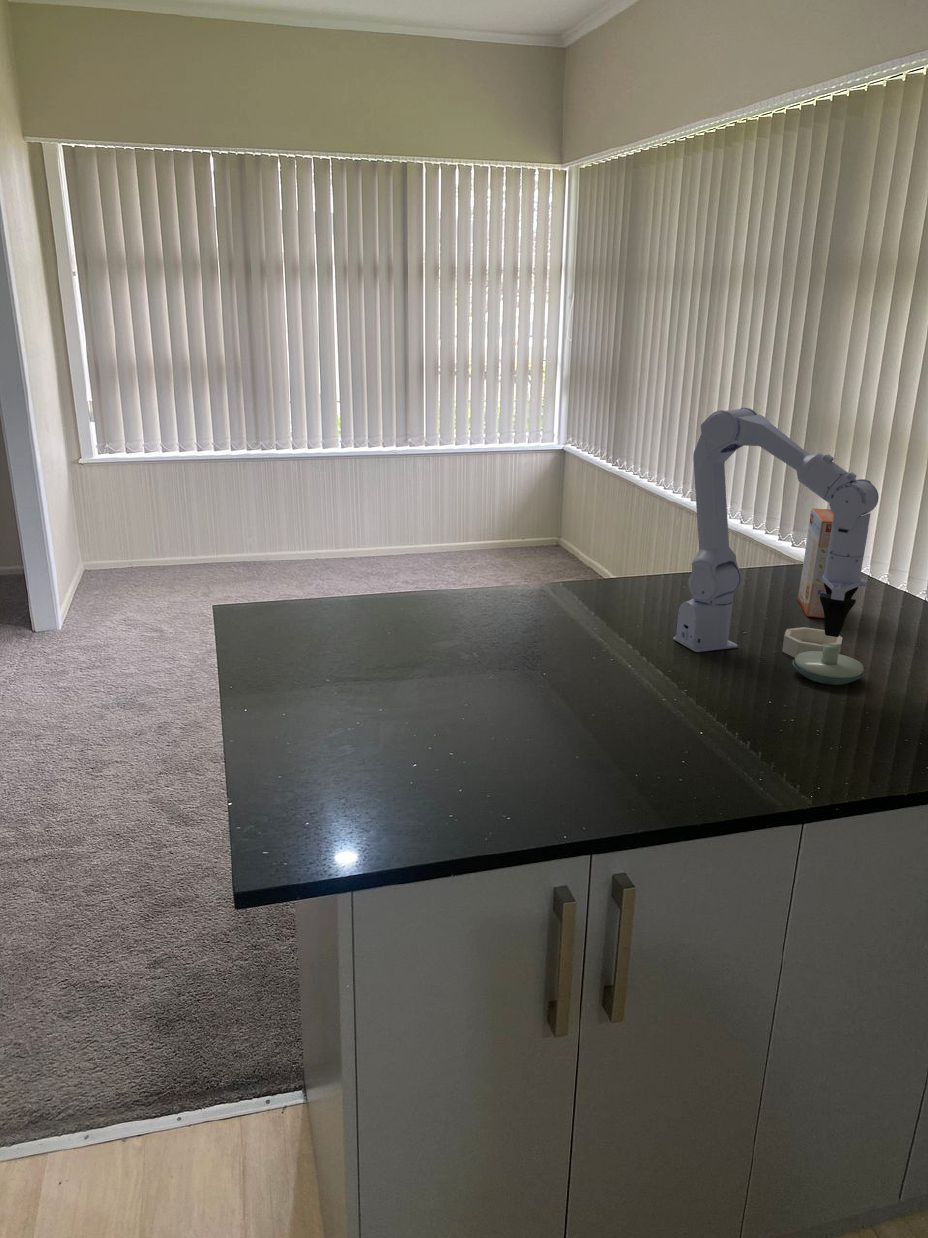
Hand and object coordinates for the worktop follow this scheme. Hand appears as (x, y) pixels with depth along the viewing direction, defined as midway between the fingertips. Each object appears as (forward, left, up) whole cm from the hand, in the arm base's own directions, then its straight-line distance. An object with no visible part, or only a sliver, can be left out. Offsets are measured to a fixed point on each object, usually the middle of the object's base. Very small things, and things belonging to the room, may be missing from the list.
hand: (833, 629), depth 163 cm
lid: (0, 0, -7) cm, 7 cm away
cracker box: (+26, +33, -9) cm, 43 cm away
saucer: (0, 0, -9) cm, 9 cm away
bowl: (+6, +11, -9) cm, 15 cm away
